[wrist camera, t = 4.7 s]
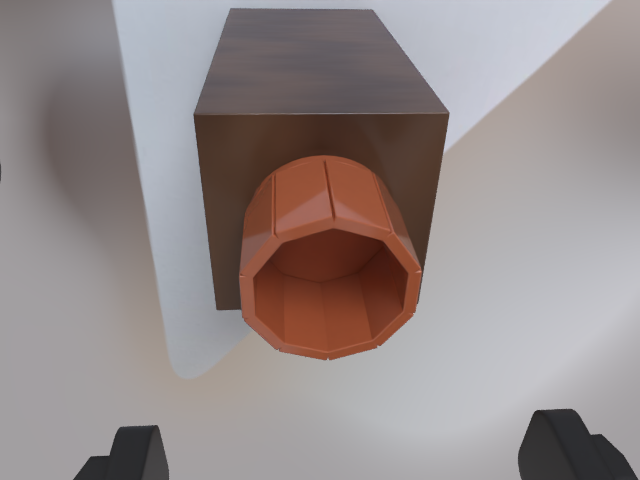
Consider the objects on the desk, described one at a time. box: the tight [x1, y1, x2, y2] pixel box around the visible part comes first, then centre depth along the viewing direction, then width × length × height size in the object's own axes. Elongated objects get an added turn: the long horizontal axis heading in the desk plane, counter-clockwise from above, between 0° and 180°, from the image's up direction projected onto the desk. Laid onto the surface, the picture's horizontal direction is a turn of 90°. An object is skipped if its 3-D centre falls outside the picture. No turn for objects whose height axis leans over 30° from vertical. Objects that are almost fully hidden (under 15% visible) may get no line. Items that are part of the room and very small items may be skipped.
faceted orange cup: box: [239, 155, 422, 360], centre depth 17 cm, size 5×5×4 cm
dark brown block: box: [194, 8, 450, 310], centre depth 25 cm, size 8×8×16 cm
